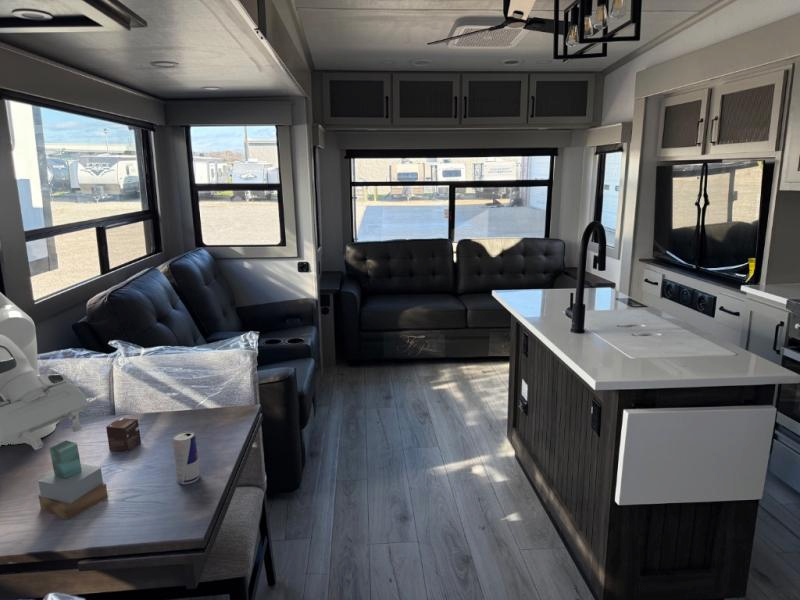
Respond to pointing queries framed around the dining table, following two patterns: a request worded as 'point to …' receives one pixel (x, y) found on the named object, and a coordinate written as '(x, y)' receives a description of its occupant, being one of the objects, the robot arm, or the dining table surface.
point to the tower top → (71, 484)
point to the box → (123, 434)
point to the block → (65, 459)
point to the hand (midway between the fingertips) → (59, 438)
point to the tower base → (74, 503)
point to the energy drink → (186, 457)
